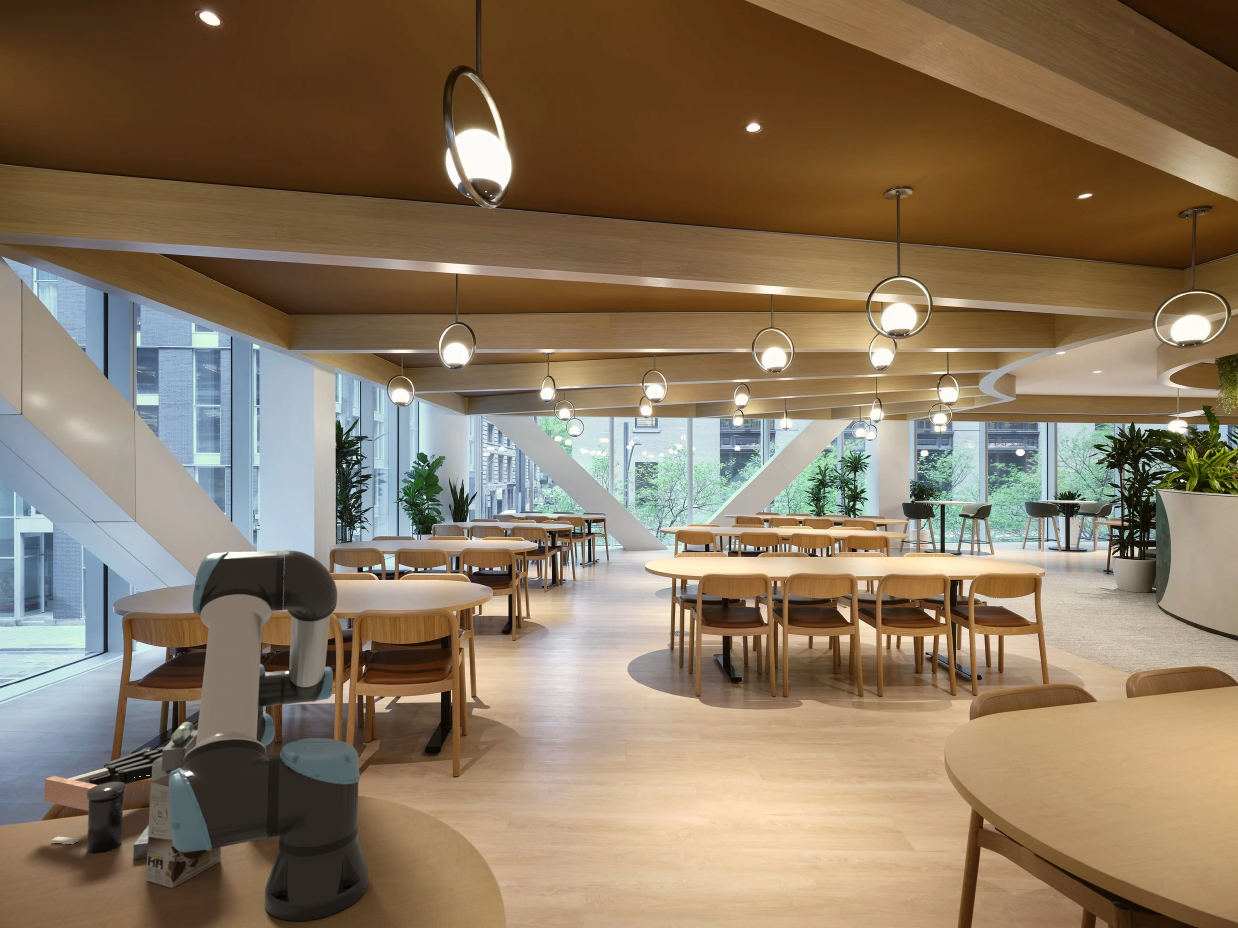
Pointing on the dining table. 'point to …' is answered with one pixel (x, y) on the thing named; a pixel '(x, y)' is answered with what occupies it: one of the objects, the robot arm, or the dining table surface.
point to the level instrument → (168, 770)
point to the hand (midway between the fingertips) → (66, 787)
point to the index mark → (65, 840)
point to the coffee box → (170, 844)
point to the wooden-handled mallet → (92, 808)
